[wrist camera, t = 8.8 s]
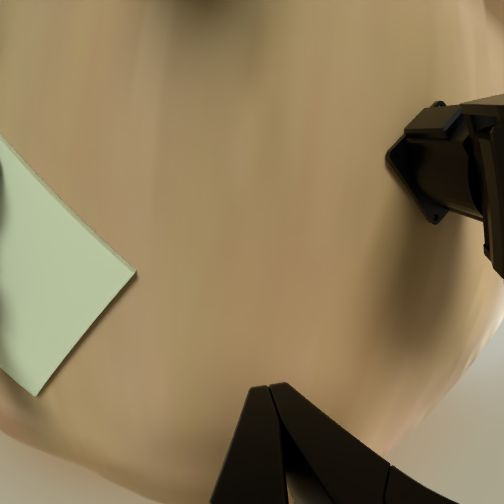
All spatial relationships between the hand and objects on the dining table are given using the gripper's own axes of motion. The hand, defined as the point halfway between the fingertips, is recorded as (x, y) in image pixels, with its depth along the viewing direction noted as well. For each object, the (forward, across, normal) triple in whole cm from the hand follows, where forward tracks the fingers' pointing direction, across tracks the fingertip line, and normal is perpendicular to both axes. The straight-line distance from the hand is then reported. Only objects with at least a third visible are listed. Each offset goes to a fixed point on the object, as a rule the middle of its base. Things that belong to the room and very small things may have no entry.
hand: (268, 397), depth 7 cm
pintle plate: (+13, +17, 0) cm, 21 cm away
